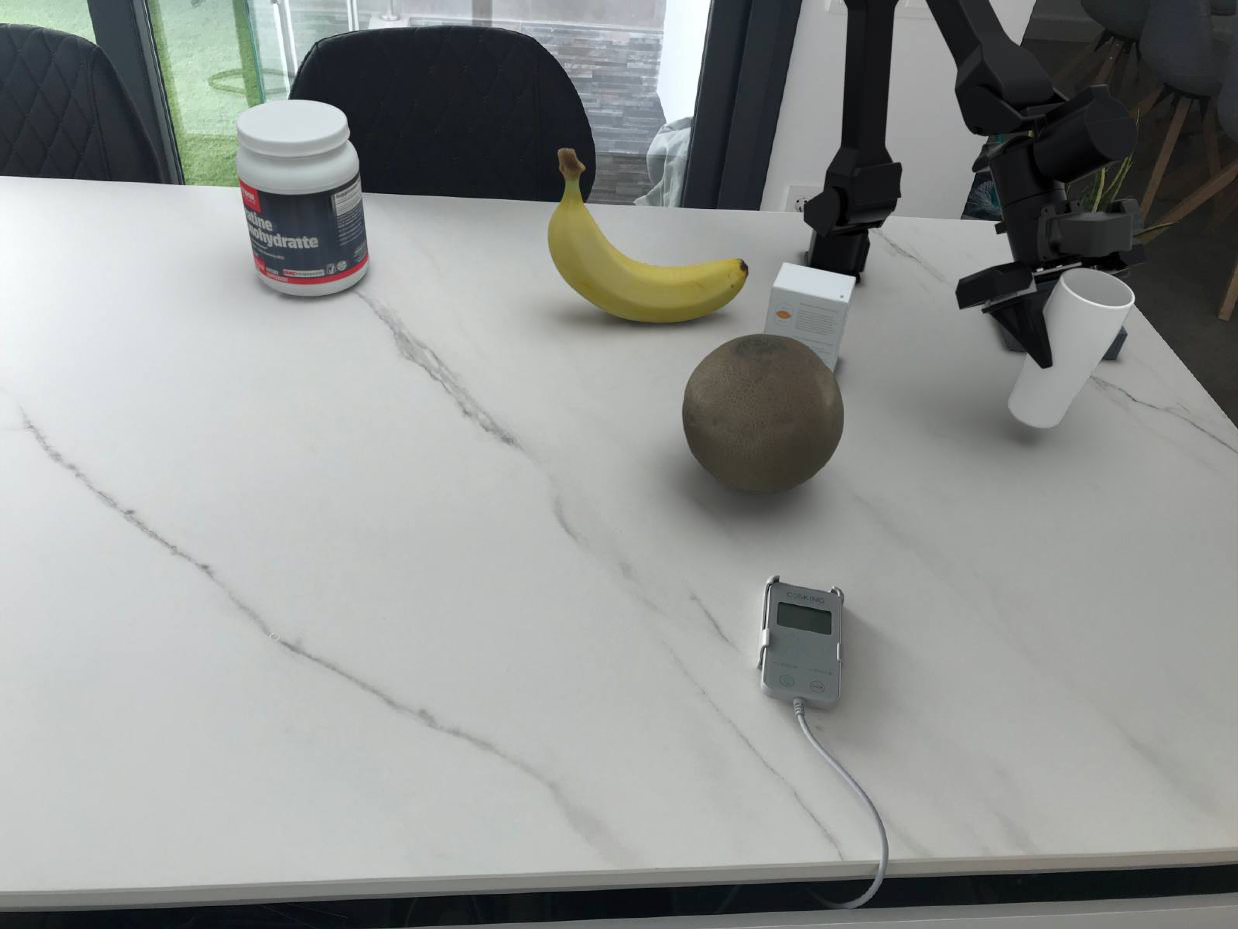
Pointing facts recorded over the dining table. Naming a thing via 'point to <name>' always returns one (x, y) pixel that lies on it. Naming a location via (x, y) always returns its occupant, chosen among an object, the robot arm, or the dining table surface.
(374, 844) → the dining table surface
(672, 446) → the dining table surface
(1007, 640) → the dining table surface
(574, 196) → the banana
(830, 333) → the small box
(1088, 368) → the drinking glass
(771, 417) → the cantaloupe
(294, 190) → the supplement tub
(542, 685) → the dining table surface
